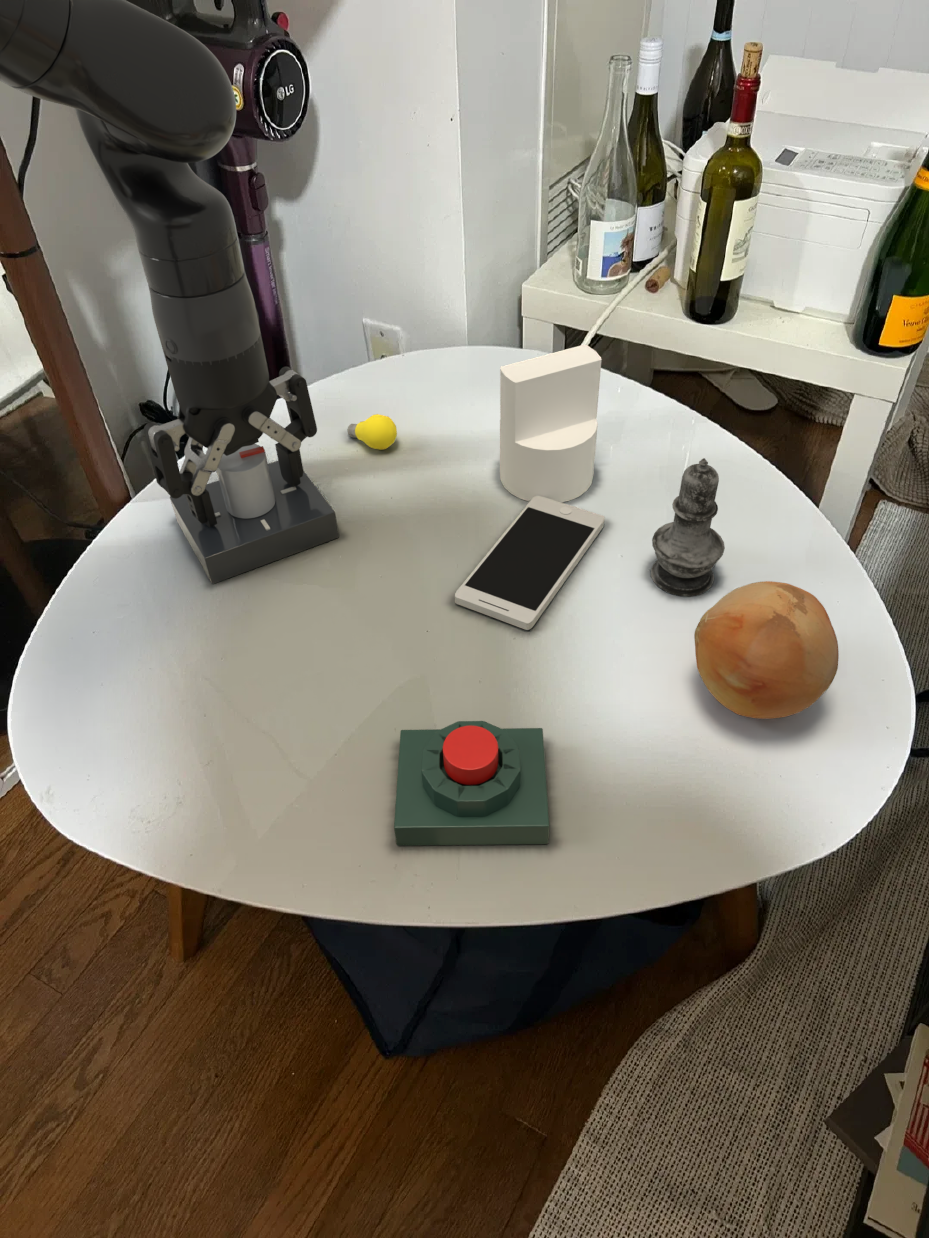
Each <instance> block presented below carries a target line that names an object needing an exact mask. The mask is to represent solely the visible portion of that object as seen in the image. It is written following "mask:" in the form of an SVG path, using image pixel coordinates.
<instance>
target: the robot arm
mask: <svg viewBox="0 0 929 1238" xmlns="http://www.w3.org/2000/svg"><path fill="white" fill-rule="evenodd" d="M0 82H1V83H3V84H5V85H7V86H9V87H11V88H13V89H15V90H17V91H19V92H22V93H24V94H26V95H28V96H31V97H34V98H37V99H40V100H43V101H45V102H50V103H53V104H58V105H62V106H66V107H69V108H70V107H71V108H74V111H75V115H76V119H77V121H78V123H79V127H80V129H81V131H82V135H83V137H84V139H85V141H86V143H87V145H88V148H89V149H90V151H91V153H92V156H93V157H94V159H95V162H96V163H97V165H98V167H99V170H100V171H101V173H102V175H103V176H104V178H105V180H106V183H107V185H108V186H109V189H110V190H111V192H112V194H113V196H114V199H116V202H117V203H118V205H119V206H120V208H121V210H122V211H123V213H124V214H125V217H126V218H127V220H128V221H129V224H130V225H131V228H132V230H133V233H134V234H133V235H134V238H135V243H136V246H137V250H138V254H139V259H140V261H141V265H142V268H143V272H144V276H145V279H146V282H147V286H148V290H149V296H150V305H151V310H152V316H153V320H154V324H155V327H156V331H157V334H158V338H159V341H160V346H161V347H162V348H161V349H162V353H163V356H164V360H165V362H166V366H167V370H168V373H169V377H170V380H171V383H172V387H173V391H174V394H175V397H176V399H177V403H178V414H177V419H174V420H172V421H169V422H166V423H163V424H160V425H159V424H158V423H157V422H155V421H149V422H147V423H146V424H145V425H144V427H143V432H144V437H145V441H146V445H147V449H148V452H149V453H148V454H149V457H150V461H151V464H152V468H153V472H154V477H155V481H156V483H157V484H158V485H159V487H161V488H162V489H164V491H165V492H166V493H167V494H168V496H169V497H170V496H171V497H172V498H174V499H177V498H179V497H181V496H182V495H183V494H185V495H186V498H187V502H188V505H189V508H190V511H191V514H192V515H193V516H194V517H195V518H196V519H197V520H198V521H199V522H200V523H201V524H204V523H205V524H206V525H207V526H208V527H212V526H214V525H216V524H217V520H216V517H215V513H214V509H213V506H212V502H211V499H210V495H209V492H208V491H207V490H206V489H205V488H206V485H207V484H209V480H210V477H211V475H212V473H215V472H216V470H217V468H218V466H219V463H220V461H221V458H222V456H223V454H225V455H226V456H228V455H230V454H233V453H235V452H236V451H237V450H239V449H240V448H242V447H244V446H250V445H253V444H257V443H259V442H260V441H259V439H260V438H261V437H262V436H263V435H266V436H268V437H269V438H271V439H272V440H273V441H275V442H277V443H275V444H274V445H275V450H276V455H277V461H279V466H280V471H281V475H282V477H283V479H284V480H285V481H286V482H287V483H288V484H290V485H291V486H292V487H295V486H297V485H299V484H300V483H301V482H300V477H302V476H303V471H304V472H305V470H304V466H303V459H302V455H301V449H300V448H301V446H302V442H303V441H305V439H306V438H313V437H315V436H316V434H317V433H318V426H317V422H316V418H315V413H314V409H313V404H312V400H311V396H310V391H309V387H308V383H307V379H306V378H305V377H303V376H302V375H300V374H299V373H297V371H295V370H293V369H292V368H290V367H289V366H283V367H281V368H280V370H279V372H278V377H276V378H274V379H271V380H270V373H269V367H268V363H267V358H266V353H265V349H264V348H265V347H264V343H263V338H262V333H261V332H262V331H261V327H260V316H259V312H258V310H257V307H256V303H255V299H254V294H253V292H252V289H251V286H250V283H249V280H248V278H247V274H246V270H245V265H244V260H243V255H242V250H241V245H240V239H239V236H238V231H237V226H236V222H235V221H236V220H235V217H234V214H233V210H232V207H231V205H230V202H229V201H228V200H227V197H226V196H225V195H224V194H223V193H222V192H221V191H219V190H218V189H217V188H216V187H214V186H213V185H211V184H209V183H208V182H206V181H205V180H203V179H202V178H200V177H199V176H198V175H197V174H196V173H195V172H194V170H192V168H191V166H190V165H189V164H194V163H200V162H203V161H207V160H209V159H211V158H213V157H214V156H216V155H217V154H218V153H219V152H220V151H222V149H224V148H225V146H226V145H227V144H228V142H229V141H230V139H231V137H232V135H233V132H234V129H235V126H236V120H237V102H236V101H237V100H236V96H235V92H234V88H233V86H232V85H233V84H232V82H231V80H230V78H229V76H228V74H227V72H226V70H225V68H224V67H223V65H222V63H221V61H220V60H219V59H218V58H217V56H216V55H215V54H214V53H213V52H212V51H211V50H210V49H209V48H208V47H207V46H206V45H205V44H204V43H202V42H201V41H200V40H199V39H197V38H196V37H195V36H193V35H192V34H190V33H188V32H187V31H186V30H184V29H182V28H180V27H178V26H177V25H175V24H173V23H171V22H169V21H167V20H166V19H163V18H162V17H160V16H158V15H156V14H154V13H152V12H149V11H148V10H146V9H144V8H141V7H140V6H138V5H136V4H134V3H132V2H130V1H128V0H0ZM278 396H279V397H280V398H281V399H283V400H284V401H285V405H286V409H287V413H288V417H289V420H290V423H288V424H287V425H286V426H285V427H283V426H282V425H281V424H279V423H278V422H276V421H275V420H274V419H272V418H271V415H272V413H273V410H274V408H275V406H276V403H277V400H278ZM184 435H186V436H188V440H187V442H186V444H185V447H184V451H183V452H184V459H183V463H182V464H181V467H179V464H178V458H177V455H176V452H178V451H179V450H180V449H181V448H180V440H181V438H182V437H183V436H184ZM204 448H206V449H207V450H206V451H205V452H204Z"/></svg>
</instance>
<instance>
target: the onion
mask: <svg viewBox="0 0 929 1238" xmlns="http://www.w3.org/2000/svg"><path fill="white" fill-rule="evenodd" d="M693 634H694V637H693V638H694V651H695V662H696V663H695V664H696V668H697V672H698V674H699V676H700V678H701V681H702V682H703V684H704V685H705V687H706V689H707V691H709V693H710V694H711V696H713V697H714V698H715V700H716V701H717V702H718V703H719V704H721V705H722V706H723V707H725V708H726V709H727V710H728V711H731V712H733V713H734V714H737V715H739V716H742V717H747V718H752V719H763V720H767V719H780V718H786V717H790V716H794V715H796V714H799V713H801V712H803V711H804V710H806V709H808V708H810V707H811V706H812V705H813V704H815V703H816V702H817V701H818V700H819V699H820V698H821V697H822V695H823V694H824V693H825V692H826V691H828V689H829V688H830V687H831V686H832V683H833V682H834V680H835V677H836V675H837V672H838V668H839V659H840V657H839V655H840V654H839V643H838V638H837V635H836V631H835V629H834V626H833V625H832V622H831V619H830V617H829V614H828V612H827V610H826V608H825V606H824V604H822V602H821V601H820V600H819V599H818V598H817V597H816V596H815V595H814V594H813V593H811V592H809V591H807V590H806V589H803V588H801V587H798V586H796V585H793V584H790V583H786V582H780V581H773V580H772V581H770V580H764V581H756V582H752V583H748V584H745V585H741V586H740V587H737V588H735V589H733V590H730V591H729V592H728V593H727V594H725V595H723V596H722V597H721V598H720V599H719V600H718V601H717V602H716V603H715V604H714V605H712V607H710V608H709V609H707V610H706V611H705V613H704V614H703V615H702V616H701V618H700V619H699V621H698V623H697V625H696V628H695V630H694V633H693Z"/></svg>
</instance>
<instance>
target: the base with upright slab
mask: <svg viewBox="0 0 929 1238" xmlns="http://www.w3.org/2000/svg"><path fill="white" fill-rule="evenodd" d="M602 360H603V359H602V357H601V356H600V355H599V353H598V352H597V350H595V349H594V348H592V347H590V346H589V345H587V344H581V345H578V346H573V347H570V348H566V349H562V350H559V351H556V352H555V351H554V352H550V353H547V354H543V355H539V356H536V357H532V358H528V359H523V360H521V361H517V362H513V363H509V364H505V365H500V367H499V378H500V379H499V381H500V382H499V387H500V391H499V397H500V398H499V399H500V400H499V402H500V403H499V405H500V408H499V409H500V412H499V413H500V415H499V417H500V418H499V477H500V483H501V484H502V486H503V487H504V489H505V490H506V491H507V492H509V493H510V494H511V495H513V496H514V497H516V498H517V499H520V500H523V501H525V502H528V503H529V502H530V500H531V499H532V498H533V497H534V496H537V495H539V496H542V497H545V498H548V499H551V500H555V501H558V502H561V503H565V502H570V501H572V500H575V499H576V498H579V497H581V496H582V495H583V494H585V493H586V492H587V491H588V490H589V488H590V487H591V486H592V485H593V480H594V473H595V472H594V471H595V462H596V461H595V460H596V449H597V448H596V447H597V439H598V437H597V436H598V427H599V426H598V425H599V423H598V418H597V417H598V408H599V396H600V395H599V394H600V393H599V392H600V383H601V372H602V371H601V370H602Z"/></svg>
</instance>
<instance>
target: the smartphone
mask: <svg viewBox="0 0 929 1238" xmlns="http://www.w3.org/2000/svg"><path fill="white" fill-rule="evenodd" d="M605 518H606V517H605V515H603V514H599V513H596V512H593V511H589V510H586V509H583V508H580V507H577V506H573V505H571V504H567V503H565V502H558V501H555V500H551V499H548V498H545V497H542V496H539V495H537V496H534V497H533V498H532V499H531V500H530V502H529V501H528V502H527V504H526V505H525V506H524V507H523V509H522V510H521V511H520V513H519V514H518V515H517V516H516V518H515V519H513V521H512V522H511V523H510V525H508V528H506V530H505V531H504V532H503V533H502V535H501V536H500V537H499V538H498V540H496V542H495V543H494V545H492V547H491V548H490V549H489V550H488V552H487V553H486V554H485V555H484V557H483V558H482V559H481V560H480V562H479V563H478V564H477V565H476V567H475V568H474V569H473V570H472V572H471V573H470V574H469V575H468V576H467V578H466V579H465V580H464V581H463V582H462V584H461V585H460V586H459V587H458V588H457V590H456V591H455V593H454V603H455V604H456V605H459V606H461V607H463V608H466V609H469V610H471V611H473V612H477V613H480V614H483V615H486V616H488V617H490V618H494V619H496V620H498V621H502V622H504V623H507V624H510V625H512V626H514V627H517V628H520V629H523V630H525V631H530V630H531V629H532V628H533V627H534V626H535V624H536V623H537V622H538V620H539V619H540V617H541V616H542V615H543V613H544V612H545V611H546V609H547V607H548V606H549V604H550V603H551V602H552V600H554V598H555V596H556V595H557V593H558V592H559V590H560V589H561V588H562V586H563V585H564V583H565V582H566V580H567V579H568V578H569V576H570V575H571V573H572V572H573V571H574V569H575V568H576V566H577V565H578V563H579V562H580V561H581V559H582V558H583V557H584V555H585V554H586V552H587V551H588V549H589V548H590V547H591V545H592V544H593V542H594V541H595V539H596V538H597V537H598V535H599V534H600V532H601V531H602V530H603V528H604V527H605Z"/></svg>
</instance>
